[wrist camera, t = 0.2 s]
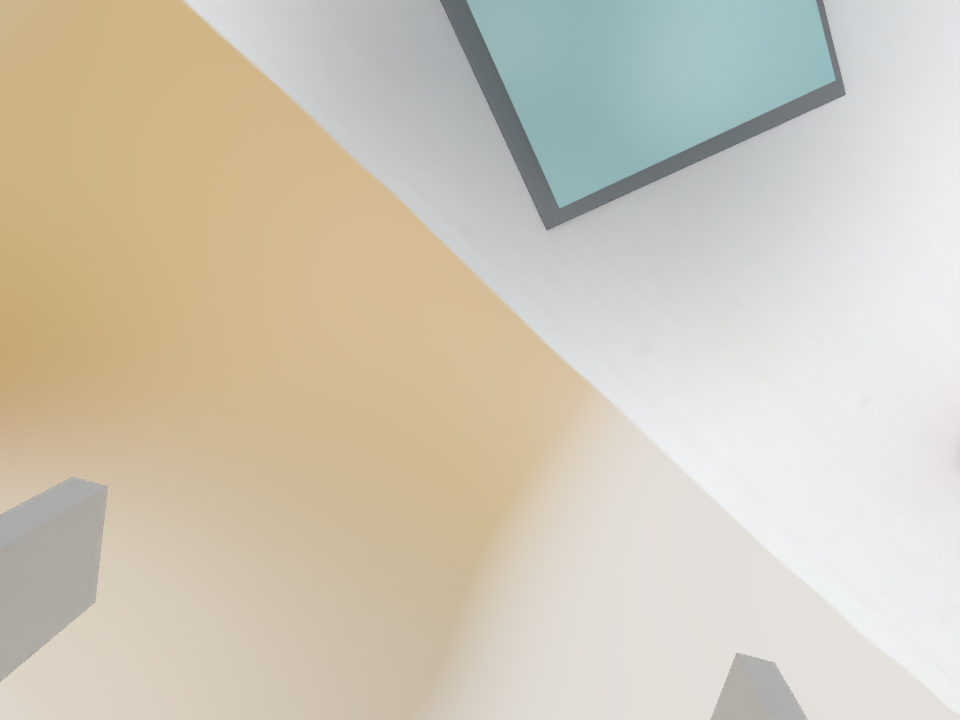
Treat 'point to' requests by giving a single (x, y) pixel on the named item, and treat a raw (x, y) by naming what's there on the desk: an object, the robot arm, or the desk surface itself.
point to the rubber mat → (555, 216)
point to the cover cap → (645, 76)
